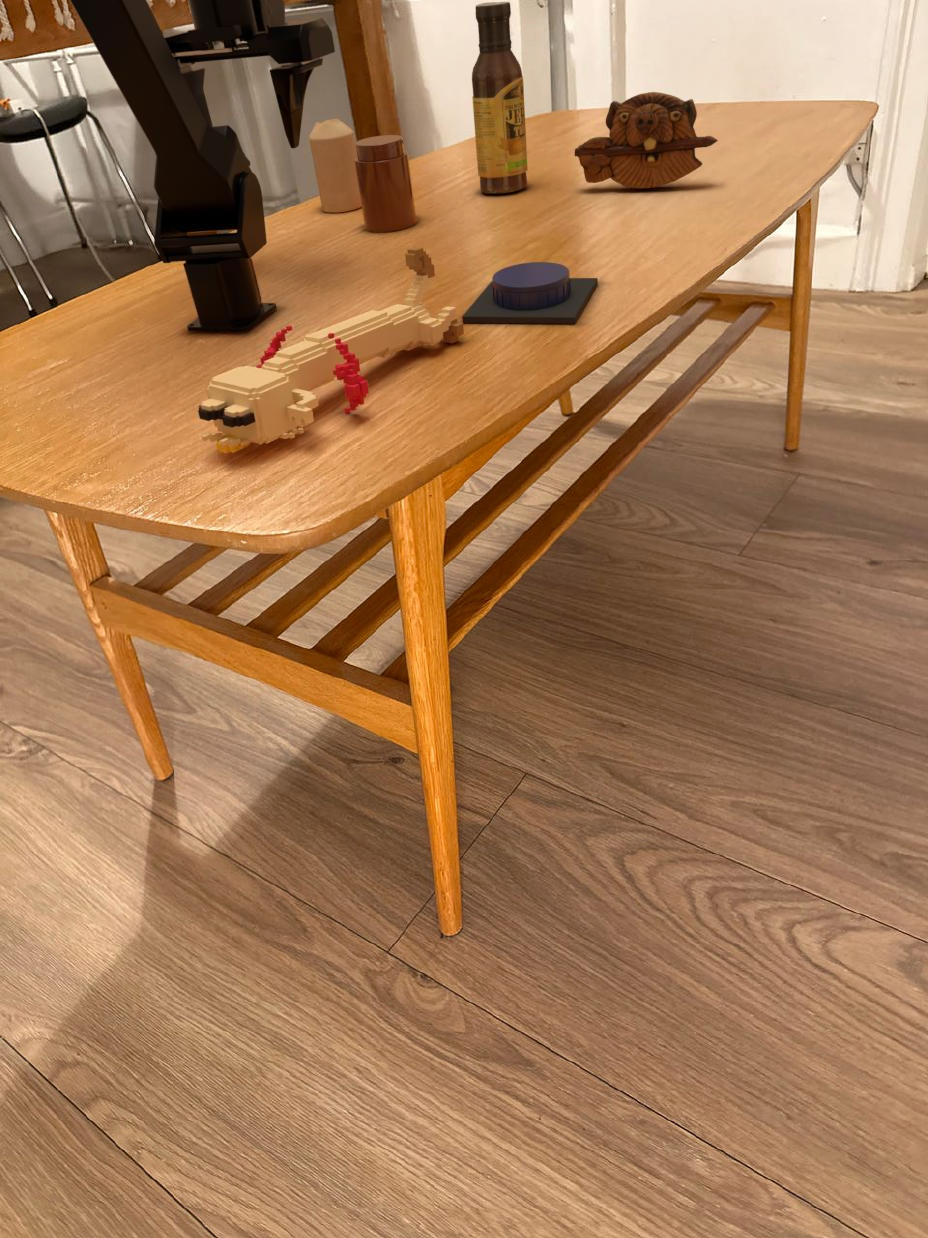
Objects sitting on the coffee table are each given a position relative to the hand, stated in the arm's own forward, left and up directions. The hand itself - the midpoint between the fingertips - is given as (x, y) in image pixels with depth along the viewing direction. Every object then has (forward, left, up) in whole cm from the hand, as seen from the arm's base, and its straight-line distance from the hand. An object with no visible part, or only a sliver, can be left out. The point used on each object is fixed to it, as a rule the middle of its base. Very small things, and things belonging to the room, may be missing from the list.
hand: (253, 149), depth 91 cm
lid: (-9, -30, -10) cm, 33 cm away
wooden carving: (+30, -34, -12) cm, 47 cm away
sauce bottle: (+32, -16, -12) cm, 38 cm away
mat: (-9, -30, -12) cm, 34 cm away
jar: (+17, -6, -12) cm, 22 cm away
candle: (+26, +4, -12) cm, 29 cm away
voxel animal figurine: (-29, -20, -12) cm, 37 cm away
